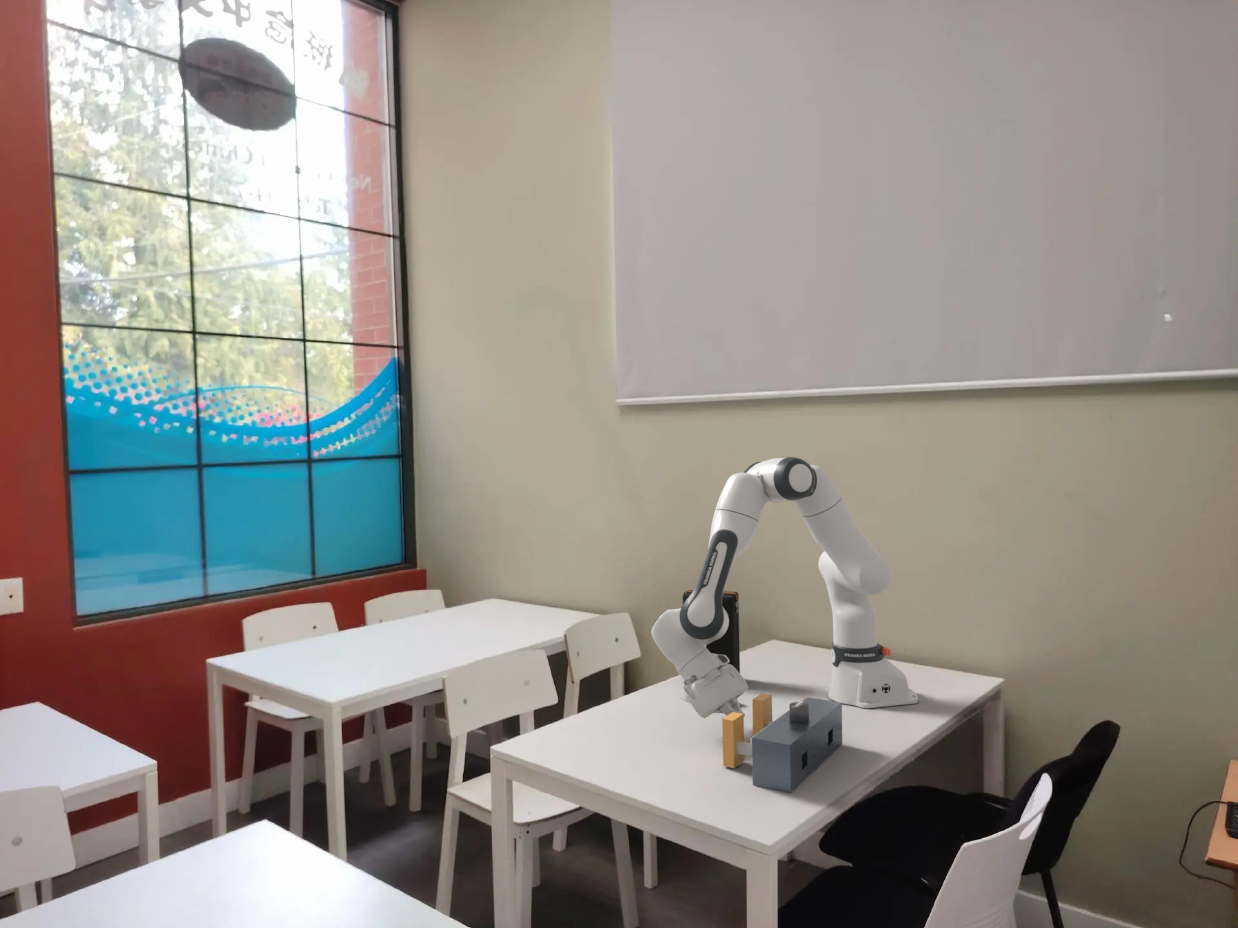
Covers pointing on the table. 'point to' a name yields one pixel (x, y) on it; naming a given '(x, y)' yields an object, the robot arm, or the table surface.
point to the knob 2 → (761, 712)
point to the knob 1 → (734, 740)
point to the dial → (799, 712)
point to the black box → (731, 638)
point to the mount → (796, 746)
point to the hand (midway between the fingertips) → (740, 719)
